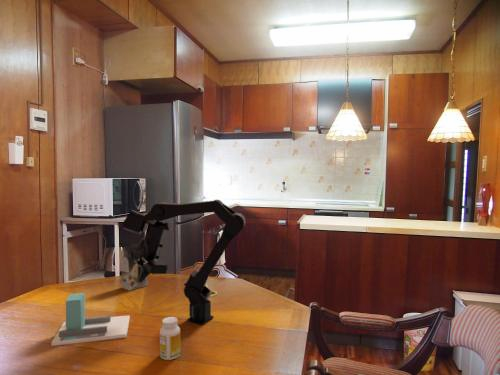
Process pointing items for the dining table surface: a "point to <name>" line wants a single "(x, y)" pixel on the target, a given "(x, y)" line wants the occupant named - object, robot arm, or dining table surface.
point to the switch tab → (75, 311)
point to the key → (212, 292)
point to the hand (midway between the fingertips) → (139, 282)
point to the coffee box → (131, 275)
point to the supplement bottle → (169, 339)
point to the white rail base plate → (94, 330)
